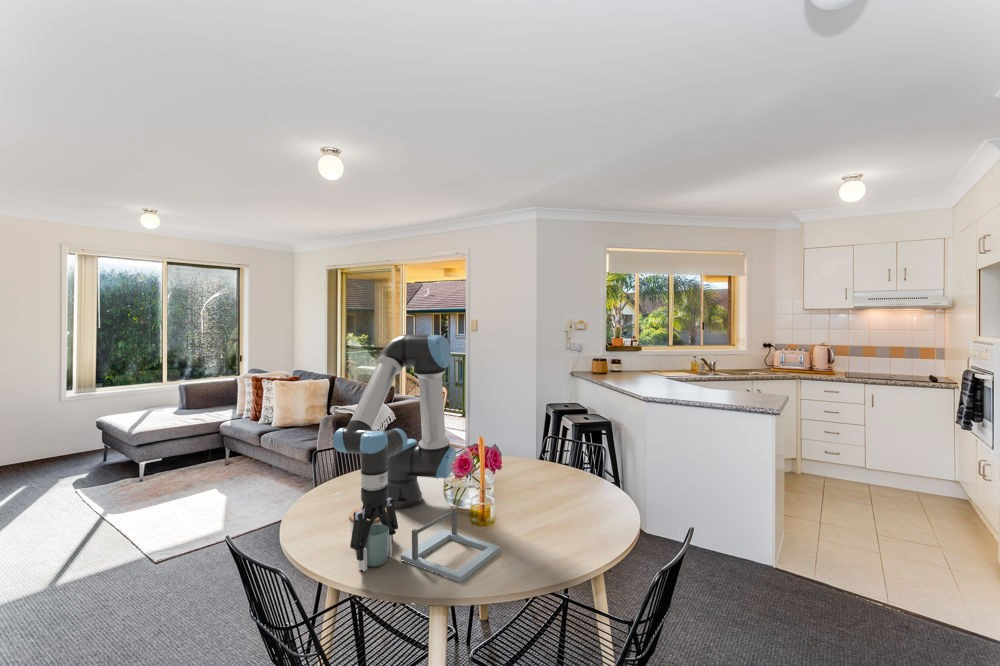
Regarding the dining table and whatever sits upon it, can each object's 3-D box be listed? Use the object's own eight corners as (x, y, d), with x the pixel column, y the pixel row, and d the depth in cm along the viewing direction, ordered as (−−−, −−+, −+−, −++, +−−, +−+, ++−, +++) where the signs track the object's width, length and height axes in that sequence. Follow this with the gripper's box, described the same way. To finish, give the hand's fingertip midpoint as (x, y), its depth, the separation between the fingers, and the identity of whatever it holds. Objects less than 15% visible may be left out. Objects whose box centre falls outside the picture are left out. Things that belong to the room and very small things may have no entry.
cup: (382, 571, 136) (381, 536, 135) (356, 569, 137) (356, 534, 137) (393, 557, 143) (393, 524, 143) (369, 555, 145) (368, 522, 144)
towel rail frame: (400, 560, 142) (400, 526, 141) (443, 533, 159) (443, 503, 158) (460, 582, 130) (460, 546, 130) (500, 551, 147) (500, 519, 146)
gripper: (353, 501, 128) (355, 584, 129) (410, 477, 146) (411, 550, 147) (335, 495, 132) (336, 576, 133) (392, 473, 150) (393, 544, 151)
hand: (375, 562), depth 140 cm, fingers open, 9 cm apart
